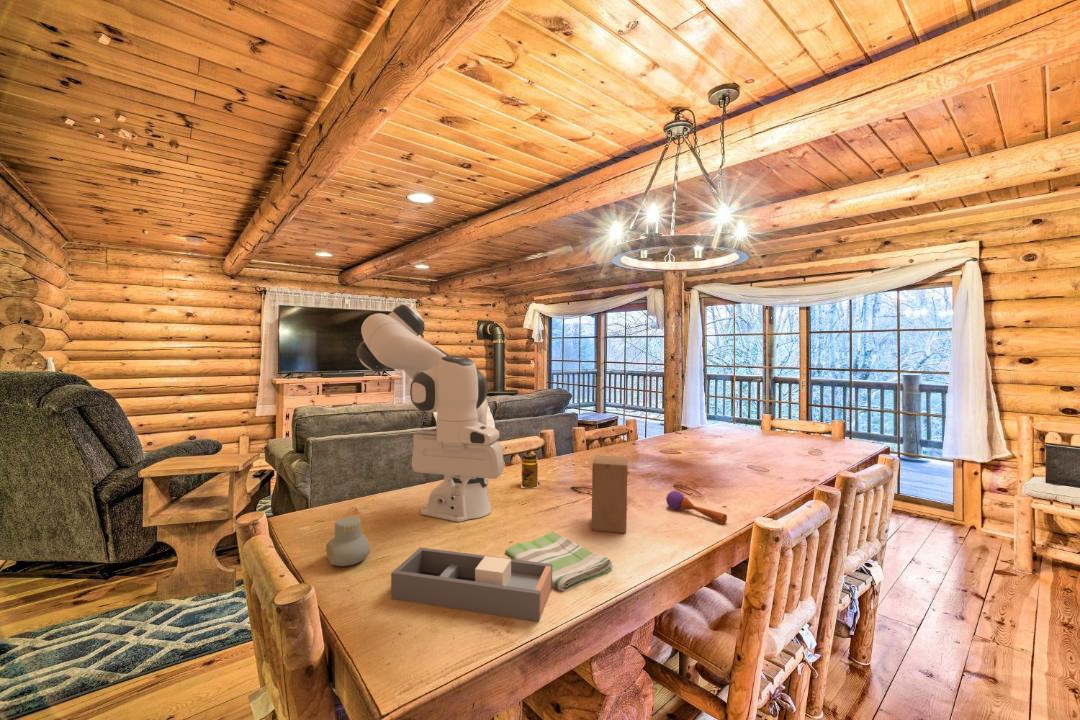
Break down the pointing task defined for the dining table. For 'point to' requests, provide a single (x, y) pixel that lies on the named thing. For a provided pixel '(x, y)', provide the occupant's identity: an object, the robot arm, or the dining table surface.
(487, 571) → the cream block
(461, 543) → the dining table surface
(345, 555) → the air freshener
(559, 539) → the dish towel
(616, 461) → the wooden block
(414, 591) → the box
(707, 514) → the purple and brown maraca
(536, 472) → the condiment
